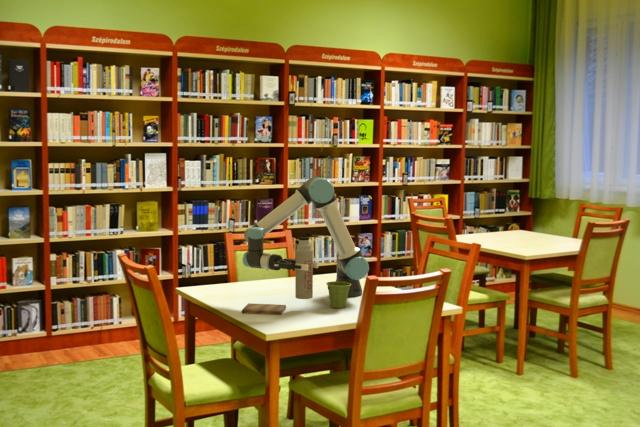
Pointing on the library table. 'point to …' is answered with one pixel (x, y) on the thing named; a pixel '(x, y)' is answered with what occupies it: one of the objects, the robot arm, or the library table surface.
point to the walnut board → (264, 309)
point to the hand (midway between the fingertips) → (312, 266)
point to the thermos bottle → (304, 277)
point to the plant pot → (338, 293)
